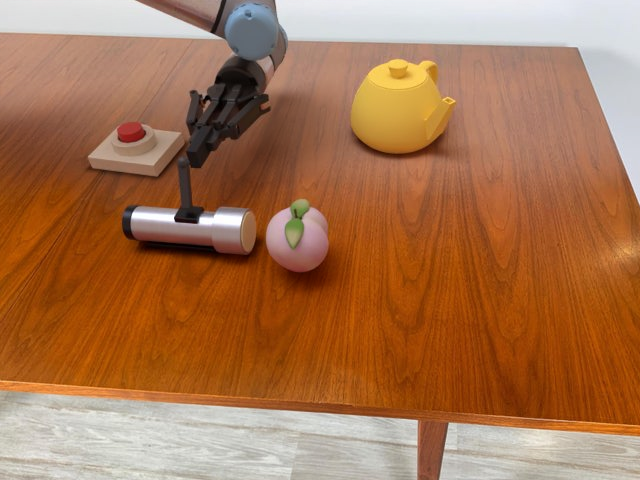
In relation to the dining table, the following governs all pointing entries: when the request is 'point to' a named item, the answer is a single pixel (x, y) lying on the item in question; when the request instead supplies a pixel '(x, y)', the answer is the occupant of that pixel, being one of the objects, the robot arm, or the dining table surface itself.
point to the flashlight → (192, 228)
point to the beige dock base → (137, 152)
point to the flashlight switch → (185, 182)
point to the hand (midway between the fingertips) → (193, 160)
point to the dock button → (130, 132)
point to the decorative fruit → (298, 237)
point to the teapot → (400, 107)
